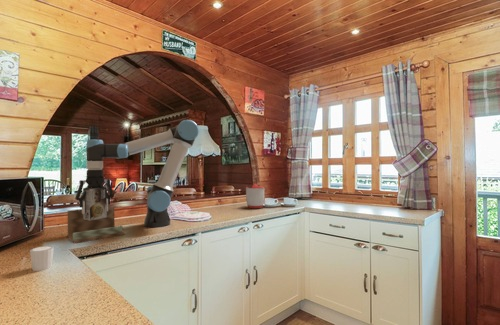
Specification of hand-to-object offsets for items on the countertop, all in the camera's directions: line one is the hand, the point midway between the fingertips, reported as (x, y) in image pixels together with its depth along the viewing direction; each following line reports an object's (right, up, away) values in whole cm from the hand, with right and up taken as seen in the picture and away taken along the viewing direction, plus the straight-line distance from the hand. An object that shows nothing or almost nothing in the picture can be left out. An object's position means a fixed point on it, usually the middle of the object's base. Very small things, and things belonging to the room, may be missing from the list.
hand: (95, 212), depth 144 cm
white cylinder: (+6, -12, -45) cm, 47 cm away
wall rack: (+1, -12, -1) cm, 12 cm away
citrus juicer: (+84, -12, +84) cm, 120 cm away
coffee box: (0, -3, 0) cm, 3 cm away
